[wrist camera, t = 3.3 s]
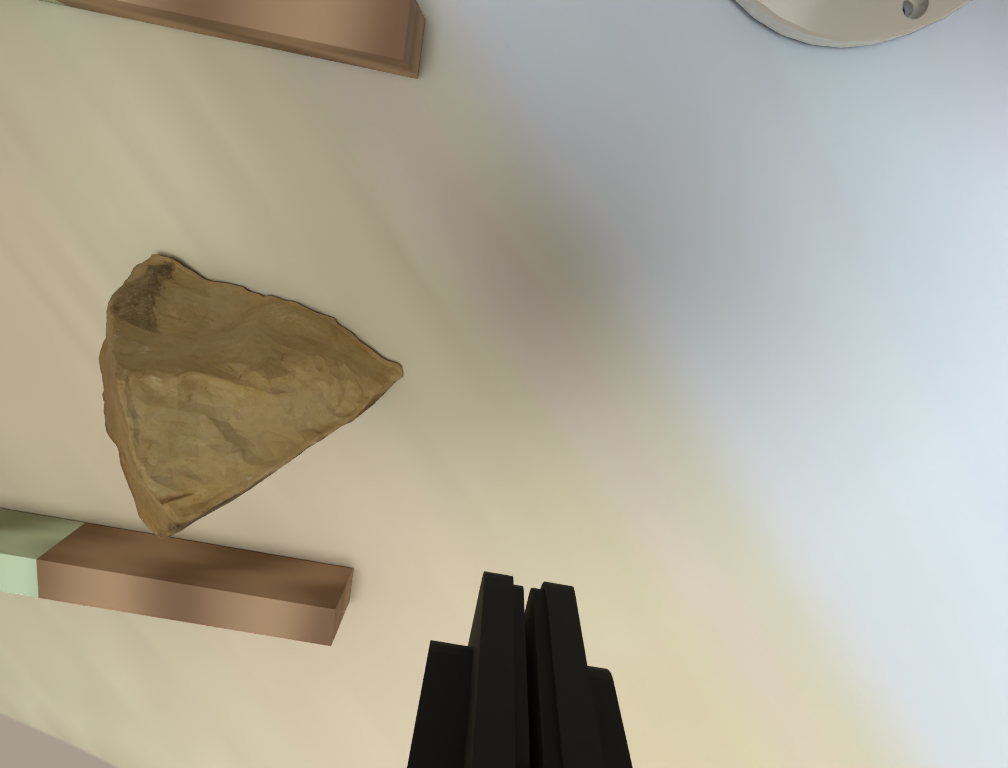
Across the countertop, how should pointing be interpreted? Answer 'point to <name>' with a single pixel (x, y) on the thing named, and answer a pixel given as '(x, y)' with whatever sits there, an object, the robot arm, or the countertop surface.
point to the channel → (182, 563)
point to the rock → (221, 388)
